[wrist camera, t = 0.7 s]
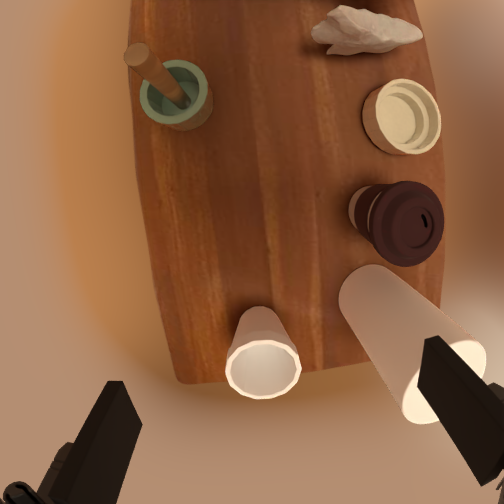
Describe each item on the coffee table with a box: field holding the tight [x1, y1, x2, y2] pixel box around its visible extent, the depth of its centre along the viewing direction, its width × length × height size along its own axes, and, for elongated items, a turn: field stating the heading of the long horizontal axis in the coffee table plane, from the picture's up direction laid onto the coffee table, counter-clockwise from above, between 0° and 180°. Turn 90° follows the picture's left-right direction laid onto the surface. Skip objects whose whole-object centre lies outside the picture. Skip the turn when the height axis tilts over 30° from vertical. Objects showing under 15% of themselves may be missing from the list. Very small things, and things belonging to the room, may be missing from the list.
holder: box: [140, 60, 214, 131], centre depth 37 cm, size 8×8×8 cm
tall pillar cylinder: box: [338, 264, 486, 424], centre depth 37 cm, size 11×11×25 cm
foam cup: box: [225, 306, 301, 399], centre depth 44 cm, size 10×9×13 cm
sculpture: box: [311, 5, 423, 55], centre depth 32 cm, size 17×5×15 cm, turn 105°
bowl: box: [362, 79, 441, 155], centre depth 39 cm, size 11×11×6 cm
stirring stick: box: [124, 42, 191, 110], centre depth 30 cm, size 2×2×21 cm
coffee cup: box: [348, 181, 444, 267], centre depth 39 cm, size 10×10×15 cm
